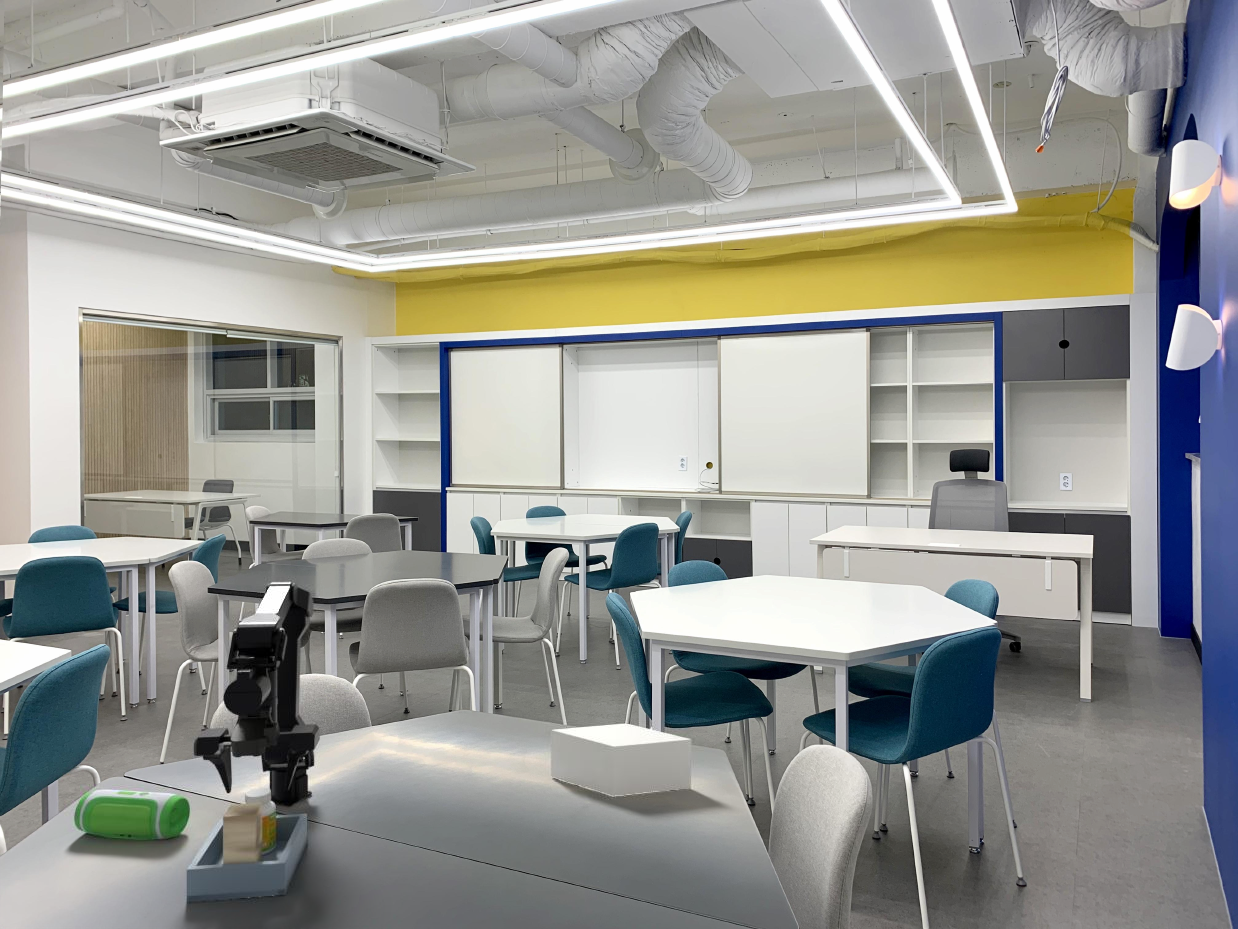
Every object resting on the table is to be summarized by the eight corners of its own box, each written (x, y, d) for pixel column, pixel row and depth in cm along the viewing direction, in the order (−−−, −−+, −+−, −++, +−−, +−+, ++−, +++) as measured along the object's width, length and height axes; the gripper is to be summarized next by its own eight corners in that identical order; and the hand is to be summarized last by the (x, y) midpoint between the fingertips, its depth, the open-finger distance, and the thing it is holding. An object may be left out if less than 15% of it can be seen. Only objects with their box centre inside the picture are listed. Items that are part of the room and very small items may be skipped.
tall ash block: (231, 873, 137) (231, 804, 137) (262, 871, 138) (262, 802, 138) (223, 888, 133) (223, 816, 132) (254, 886, 133) (255, 815, 133)
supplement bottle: (275, 854, 144) (274, 796, 143) (239, 859, 142) (239, 800, 142) (277, 840, 149) (276, 783, 148) (242, 844, 147) (242, 788, 147)
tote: (220, 848, 148) (220, 818, 148) (307, 842, 150) (307, 813, 150) (186, 902, 130) (186, 869, 130) (285, 895, 133) (285, 863, 132)
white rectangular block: (687, 804, 168) (688, 751, 168) (541, 792, 173) (542, 741, 173) (693, 776, 183) (694, 727, 182) (559, 766, 188) (559, 719, 187)
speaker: (192, 829, 155) (192, 787, 155) (166, 848, 148) (166, 804, 148) (101, 823, 158) (101, 782, 157) (71, 841, 150) (71, 798, 150)
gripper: (182, 714, 135) (182, 814, 135) (308, 709, 138) (308, 807, 138) (204, 694, 146) (204, 787, 146) (320, 690, 149) (320, 781, 149)
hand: (258, 791), depth 145 cm, fingers open, 9 cm apart
